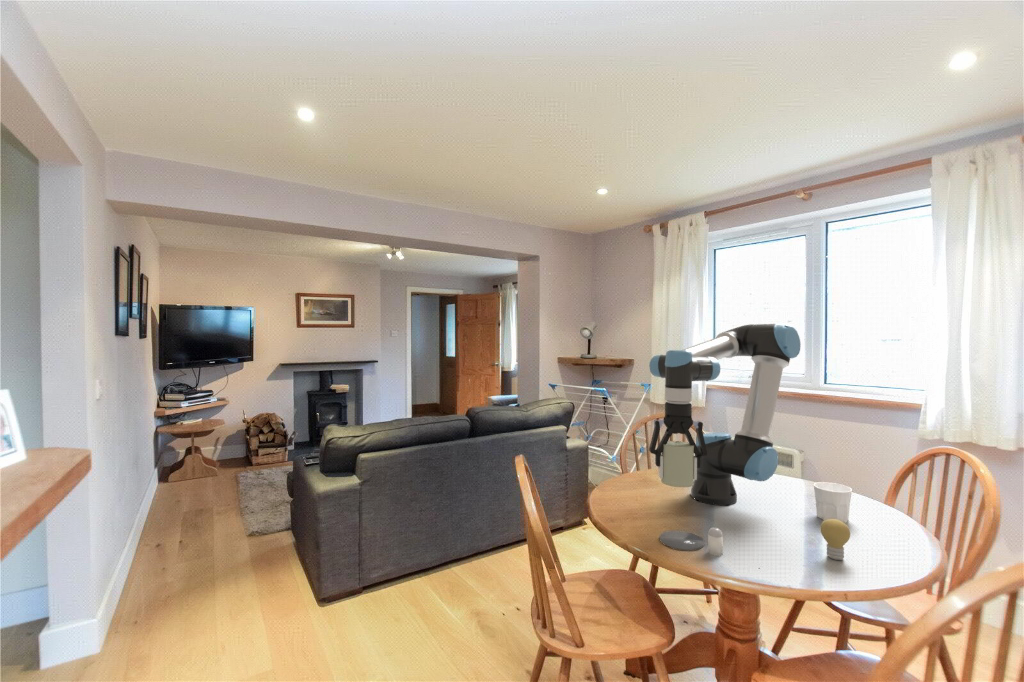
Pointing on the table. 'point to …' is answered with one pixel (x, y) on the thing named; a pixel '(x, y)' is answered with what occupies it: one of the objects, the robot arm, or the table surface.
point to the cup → (832, 501)
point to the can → (678, 464)
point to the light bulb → (835, 537)
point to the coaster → (682, 540)
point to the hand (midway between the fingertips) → (677, 477)
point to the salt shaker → (715, 542)
